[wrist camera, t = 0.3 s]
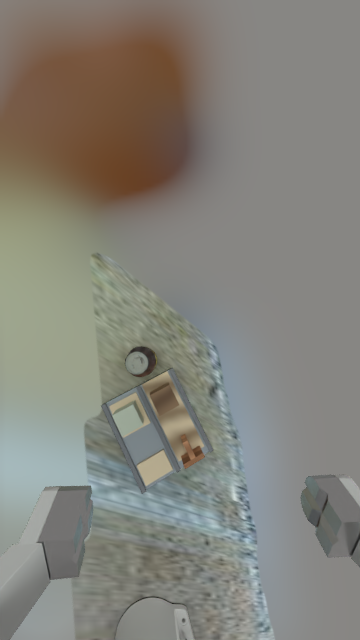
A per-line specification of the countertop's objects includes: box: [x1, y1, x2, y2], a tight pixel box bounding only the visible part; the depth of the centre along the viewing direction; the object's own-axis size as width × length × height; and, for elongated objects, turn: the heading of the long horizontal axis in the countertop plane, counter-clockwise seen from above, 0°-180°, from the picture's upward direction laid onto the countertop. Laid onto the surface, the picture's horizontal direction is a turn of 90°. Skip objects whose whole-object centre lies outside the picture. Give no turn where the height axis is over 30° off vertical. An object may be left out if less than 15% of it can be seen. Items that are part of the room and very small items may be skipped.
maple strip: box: [142, 371, 205, 469], centre depth 56 cm, size 20×7×5 cm, turn 27°
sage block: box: [112, 400, 144, 437], centre depth 54 cm, size 5×5×5 cm
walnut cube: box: [150, 383, 179, 416], centre depth 56 cm, size 5×5×5 cm
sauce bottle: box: [125, 347, 157, 377], centre depth 51 cm, size 6×6×20 cm
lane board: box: [102, 368, 213, 494], centre depth 58 cm, size 22×19×2 cm
